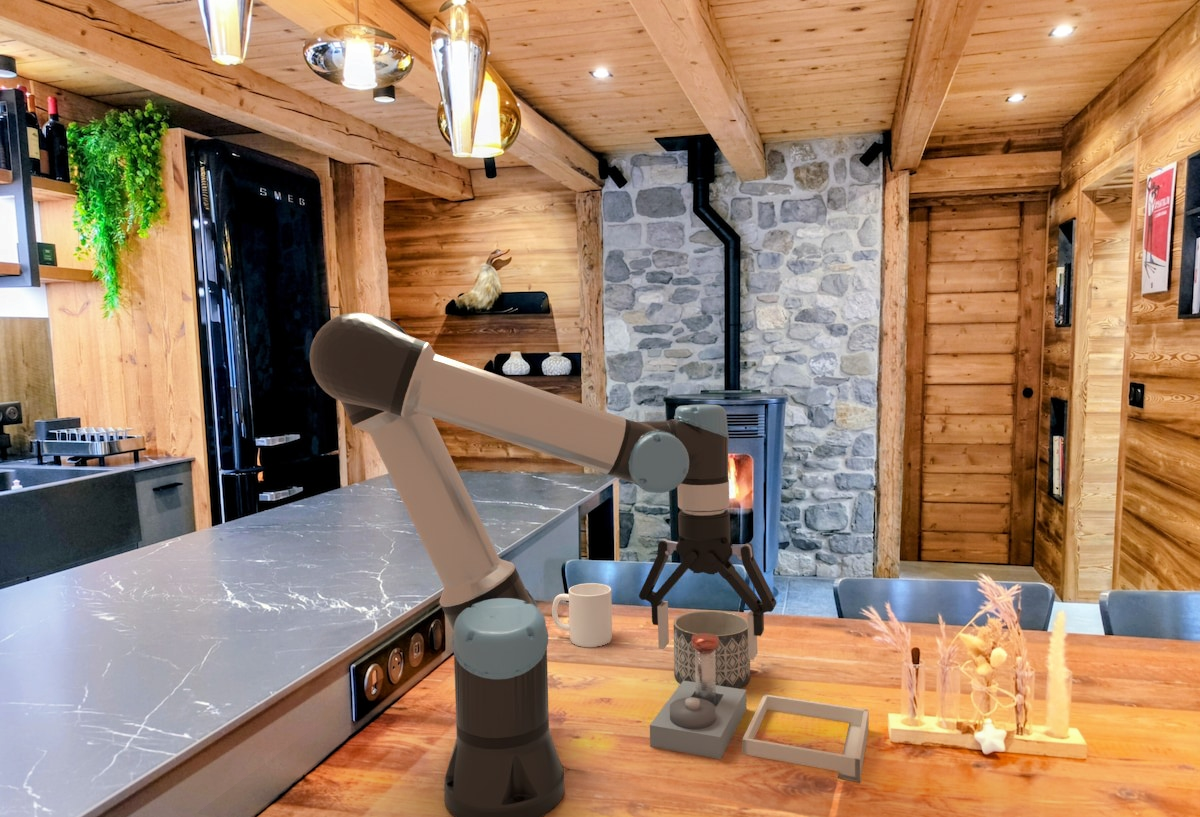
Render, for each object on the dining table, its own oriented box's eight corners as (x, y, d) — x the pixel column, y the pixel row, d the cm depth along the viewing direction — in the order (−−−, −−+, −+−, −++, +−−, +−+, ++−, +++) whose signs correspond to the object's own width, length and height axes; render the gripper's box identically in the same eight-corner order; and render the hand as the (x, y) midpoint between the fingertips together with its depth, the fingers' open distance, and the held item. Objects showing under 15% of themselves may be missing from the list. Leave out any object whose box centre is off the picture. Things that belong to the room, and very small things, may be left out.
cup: (606, 649, 148) (605, 596, 148) (546, 644, 151) (544, 593, 151) (616, 634, 156) (615, 584, 156) (559, 630, 159) (557, 581, 159)
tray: (859, 782, 101) (859, 759, 101) (742, 760, 107) (742, 739, 106) (868, 729, 115) (868, 709, 115) (764, 713, 121) (764, 694, 120)
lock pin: (715, 725, 115) (714, 644, 114) (689, 721, 116) (688, 640, 116) (722, 714, 118) (721, 635, 118) (696, 709, 120) (695, 631, 119)
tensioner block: (720, 766, 105) (720, 718, 105) (650, 752, 109) (649, 706, 109) (746, 715, 120) (746, 673, 120) (683, 705, 124) (683, 664, 124)
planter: (660, 677, 135) (659, 617, 134) (720, 662, 141) (719, 605, 140) (702, 705, 124) (701, 641, 123) (766, 688, 130) (765, 626, 129)
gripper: (794, 508, 114) (796, 651, 115) (633, 501, 124) (637, 633, 125) (785, 519, 107) (788, 671, 108) (615, 511, 117) (620, 650, 118)
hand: (707, 651), depth 117 cm, fingers open, 13 cm apart
